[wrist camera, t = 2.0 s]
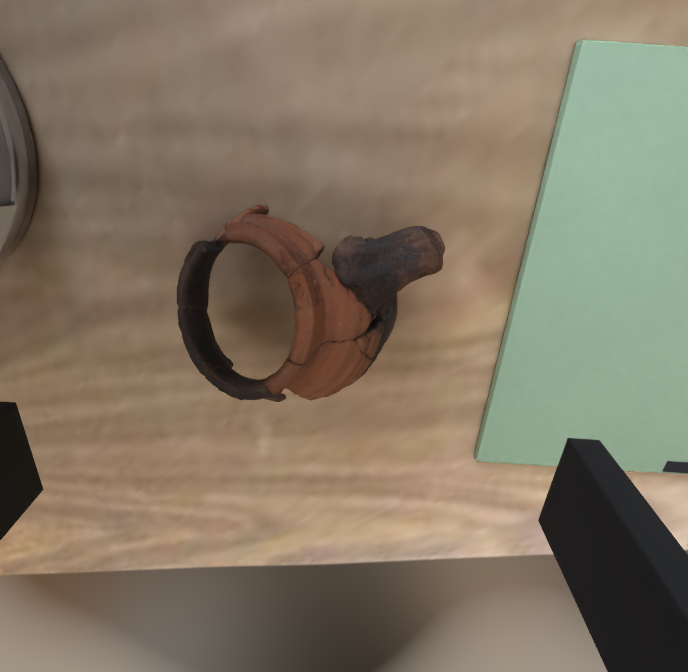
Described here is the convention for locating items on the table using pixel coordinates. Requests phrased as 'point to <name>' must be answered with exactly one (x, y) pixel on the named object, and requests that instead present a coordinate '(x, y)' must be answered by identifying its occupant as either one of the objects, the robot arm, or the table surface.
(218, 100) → the table surface
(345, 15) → the table surface
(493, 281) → the table surface
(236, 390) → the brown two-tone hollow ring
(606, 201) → the desk mat
